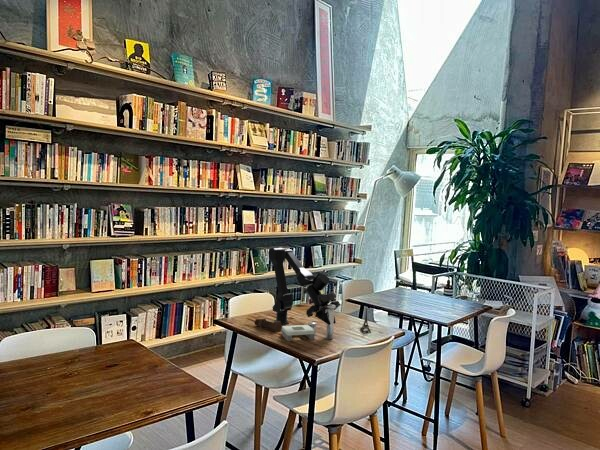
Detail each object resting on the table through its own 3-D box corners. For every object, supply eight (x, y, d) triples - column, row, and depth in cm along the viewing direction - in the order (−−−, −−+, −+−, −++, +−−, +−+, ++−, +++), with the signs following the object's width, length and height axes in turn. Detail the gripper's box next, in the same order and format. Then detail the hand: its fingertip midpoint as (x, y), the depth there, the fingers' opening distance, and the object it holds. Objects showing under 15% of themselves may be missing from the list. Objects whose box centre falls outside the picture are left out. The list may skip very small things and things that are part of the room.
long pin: (323, 337, 206) (324, 304, 205) (332, 336, 208) (333, 304, 207) (326, 339, 202) (328, 306, 201) (335, 339, 203) (337, 306, 203)
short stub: (306, 331, 214) (307, 321, 214) (315, 331, 216) (315, 321, 215) (309, 334, 210) (309, 324, 210) (318, 333, 211) (318, 324, 211)
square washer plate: (281, 334, 208) (281, 326, 208) (307, 332, 212) (307, 324, 212) (287, 341, 199) (287, 332, 198) (314, 339, 203) (314, 330, 202)
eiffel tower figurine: (384, 334, 217) (386, 307, 216) (372, 337, 210) (373, 310, 209) (360, 327, 228) (362, 301, 227) (348, 330, 221) (349, 304, 220)
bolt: (257, 329, 222) (279, 334, 213) (251, 325, 219) (273, 331, 210) (261, 318, 224) (283, 322, 215) (255, 314, 221) (277, 319, 212)
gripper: (311, 288, 200) (329, 317, 193) (338, 284, 213) (355, 311, 206) (298, 302, 206) (315, 331, 199) (325, 297, 219) (341, 324, 212)
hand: (332, 323), depth 204 cm, fingers closed on long pin, 3 cm apart
